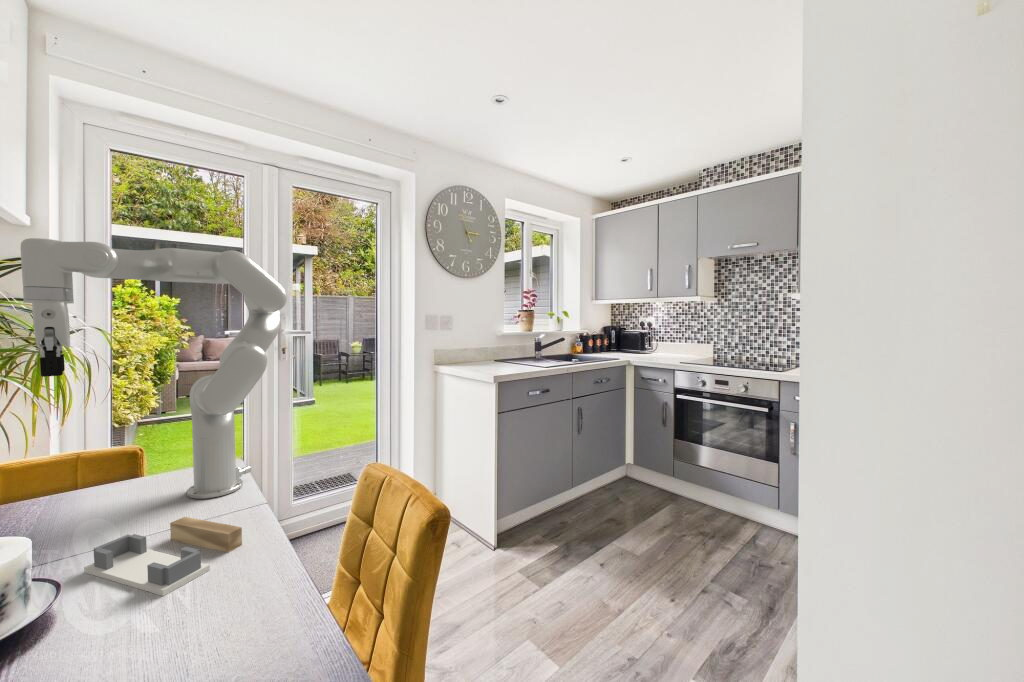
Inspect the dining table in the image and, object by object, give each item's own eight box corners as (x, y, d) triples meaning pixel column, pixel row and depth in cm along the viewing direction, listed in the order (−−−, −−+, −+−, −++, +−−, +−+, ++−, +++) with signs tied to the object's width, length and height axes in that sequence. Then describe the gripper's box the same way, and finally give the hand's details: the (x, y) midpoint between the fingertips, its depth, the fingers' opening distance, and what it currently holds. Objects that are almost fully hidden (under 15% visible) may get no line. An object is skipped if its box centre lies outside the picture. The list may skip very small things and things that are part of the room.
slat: (185, 534, 94) (184, 516, 94) (242, 546, 89) (241, 527, 89) (170, 541, 91) (170, 522, 91) (228, 553, 86) (228, 534, 86)
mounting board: (134, 550, 87) (133, 531, 87) (209, 570, 80) (209, 549, 80) (84, 572, 79) (83, 551, 79) (163, 596, 73) (162, 573, 72)
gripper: (72, 295, 91) (76, 376, 92) (74, 298, 103) (78, 369, 104) (18, 294, 86) (23, 379, 86) (27, 297, 98) (31, 371, 99)
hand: (53, 373), depth 95 cm, fingers open, 9 cm apart
